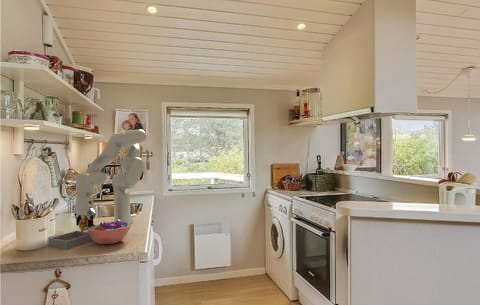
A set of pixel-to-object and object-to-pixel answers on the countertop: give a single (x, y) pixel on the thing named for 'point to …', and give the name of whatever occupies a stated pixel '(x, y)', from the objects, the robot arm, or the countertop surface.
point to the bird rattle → (84, 224)
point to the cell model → (109, 232)
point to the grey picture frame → (70, 239)
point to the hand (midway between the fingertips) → (84, 225)
